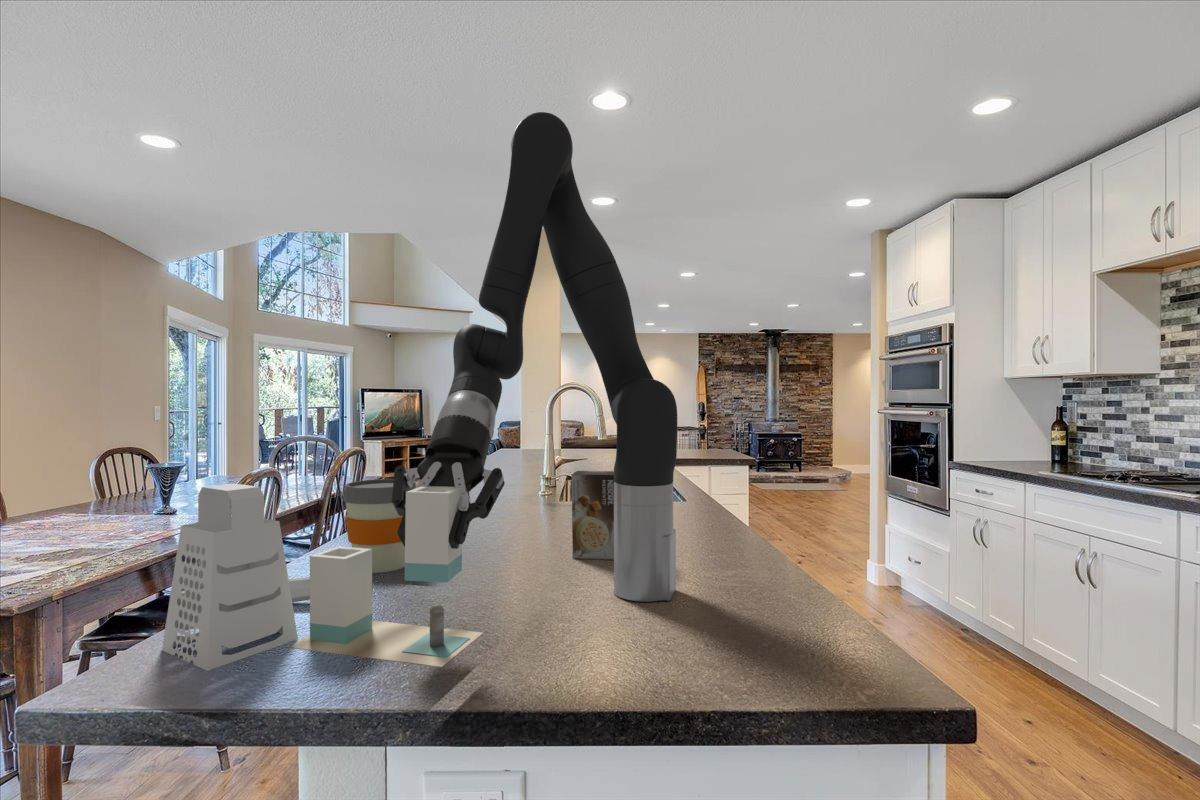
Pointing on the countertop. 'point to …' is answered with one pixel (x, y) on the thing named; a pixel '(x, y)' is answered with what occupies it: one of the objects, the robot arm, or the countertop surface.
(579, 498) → the coffee box
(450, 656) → the pin board
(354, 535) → the reusable coffee cup
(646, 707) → the countertop surface
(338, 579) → the seated sleeve
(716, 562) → the countertop surface
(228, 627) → the grater
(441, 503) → the sleeve
